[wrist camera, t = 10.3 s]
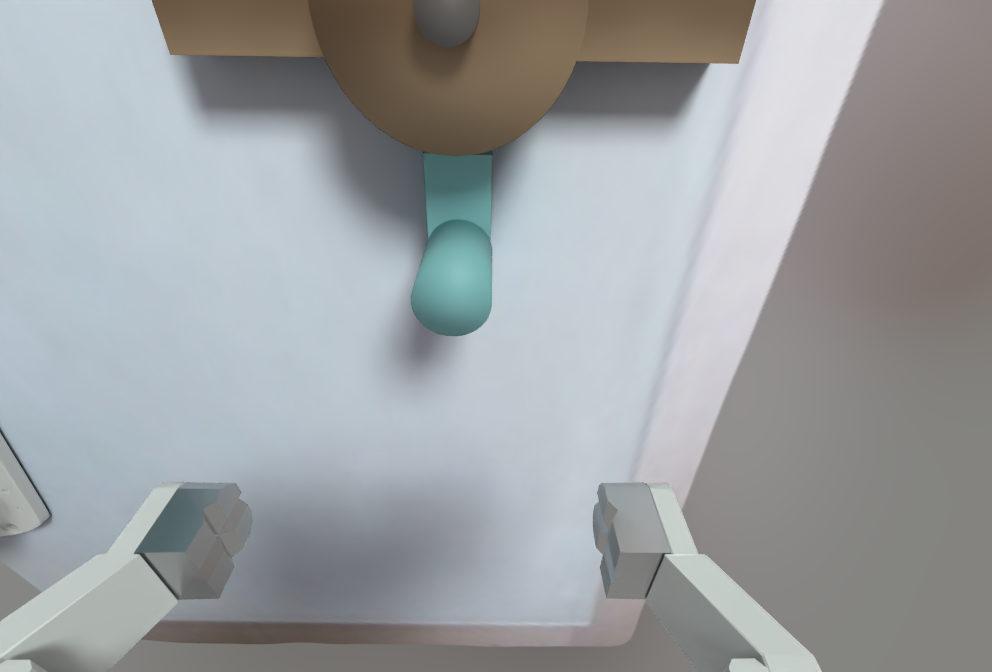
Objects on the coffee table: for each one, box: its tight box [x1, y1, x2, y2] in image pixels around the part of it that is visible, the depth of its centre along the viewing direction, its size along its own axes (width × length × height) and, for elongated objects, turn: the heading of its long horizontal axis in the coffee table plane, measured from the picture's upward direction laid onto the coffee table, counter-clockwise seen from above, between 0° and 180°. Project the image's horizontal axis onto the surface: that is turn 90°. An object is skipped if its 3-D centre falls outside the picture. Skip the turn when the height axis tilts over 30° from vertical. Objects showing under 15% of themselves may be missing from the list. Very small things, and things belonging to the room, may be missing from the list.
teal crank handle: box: [411, 150, 492, 336], centre depth 20 cm, size 6×3×7 cm, turn 178°
